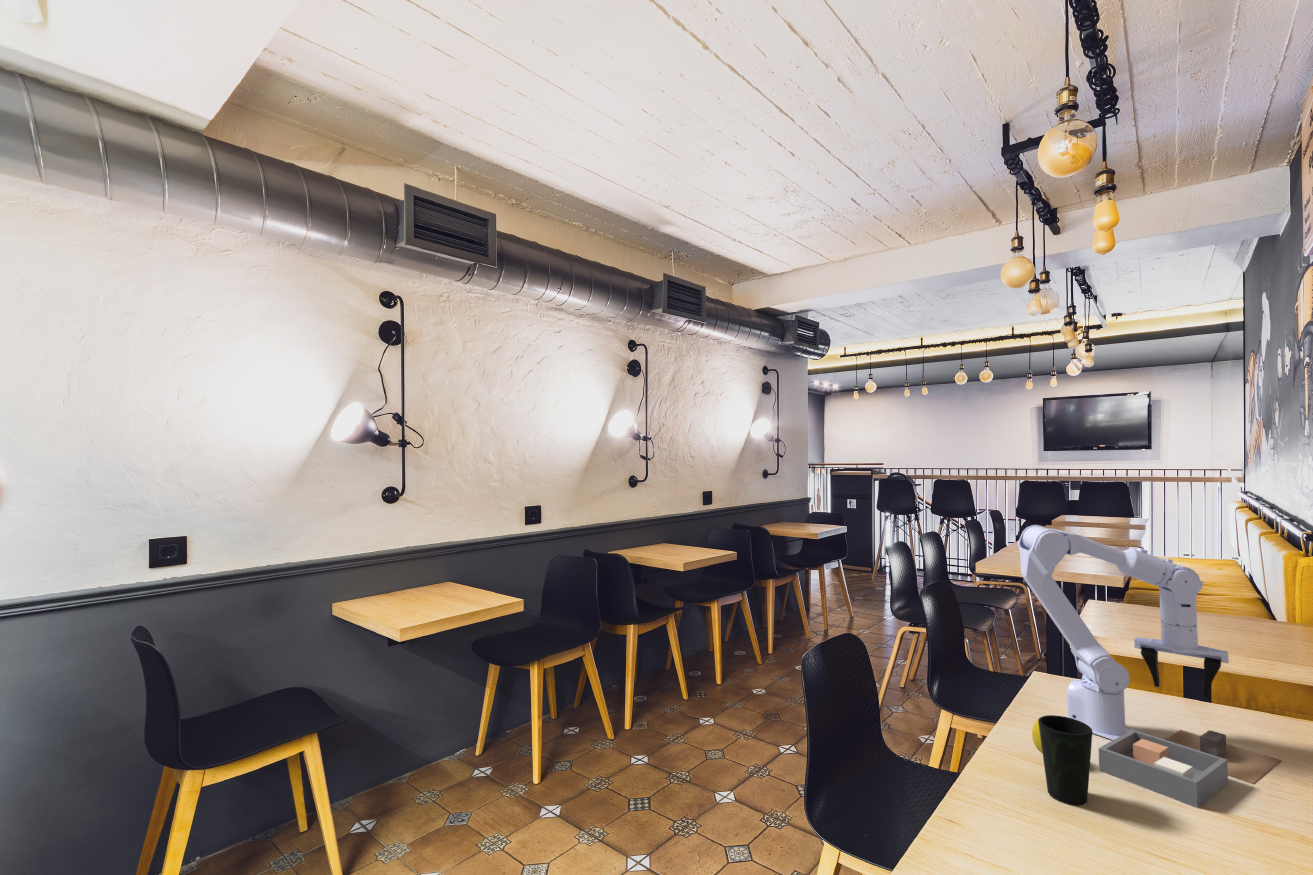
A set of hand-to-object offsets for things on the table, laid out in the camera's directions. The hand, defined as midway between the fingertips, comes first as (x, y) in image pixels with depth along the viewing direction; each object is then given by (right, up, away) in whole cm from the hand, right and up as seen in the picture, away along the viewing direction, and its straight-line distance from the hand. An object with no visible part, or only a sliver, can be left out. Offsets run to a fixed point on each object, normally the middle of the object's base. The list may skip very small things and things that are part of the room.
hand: (1181, 690), depth 123 cm
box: (-17, -9, -15) cm, 24 cm away
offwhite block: (-17, -8, -19) cm, 27 cm away
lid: (-1, -10, -8) cm, 13 cm away
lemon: (-32, -10, -8) cm, 35 cm away
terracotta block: (-16, -8, -12) cm, 21 cm away
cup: (-38, -10, -21) cm, 44 cm away
